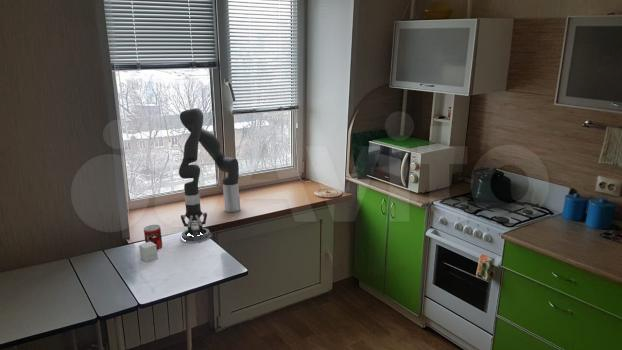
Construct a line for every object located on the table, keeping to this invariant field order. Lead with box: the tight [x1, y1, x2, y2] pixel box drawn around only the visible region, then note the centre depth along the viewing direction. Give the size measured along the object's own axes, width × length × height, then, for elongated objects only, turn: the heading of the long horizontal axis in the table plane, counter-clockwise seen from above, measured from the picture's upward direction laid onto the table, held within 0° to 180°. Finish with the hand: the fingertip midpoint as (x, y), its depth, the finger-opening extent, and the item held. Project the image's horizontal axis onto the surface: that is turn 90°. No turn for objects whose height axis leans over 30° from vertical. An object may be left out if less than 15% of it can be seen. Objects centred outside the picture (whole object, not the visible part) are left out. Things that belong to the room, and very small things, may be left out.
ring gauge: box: [181, 227, 212, 243], centre depth 248 cm, size 16×16×3 cm
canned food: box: [143, 224, 163, 251], centre depth 234 cm, size 8×8×11 cm
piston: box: [190, 220, 200, 236], centre depth 247 cm, size 5×5×7 cm
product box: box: [138, 241, 159, 263], centre depth 222 cm, size 6×6×7 cm
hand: (195, 232), depth 247 cm, fingers closed on piston, 4 cm apart
